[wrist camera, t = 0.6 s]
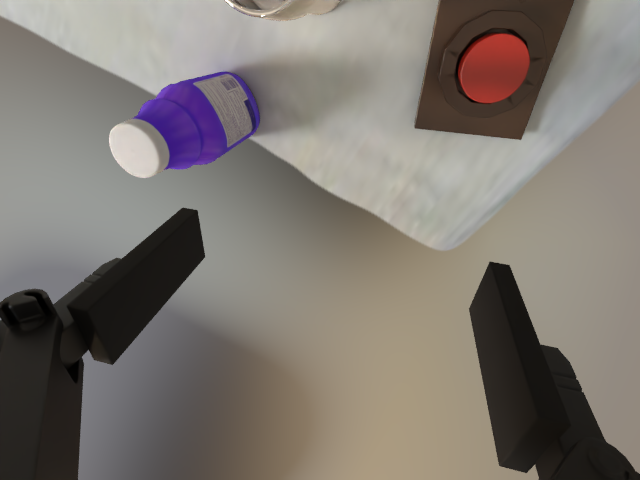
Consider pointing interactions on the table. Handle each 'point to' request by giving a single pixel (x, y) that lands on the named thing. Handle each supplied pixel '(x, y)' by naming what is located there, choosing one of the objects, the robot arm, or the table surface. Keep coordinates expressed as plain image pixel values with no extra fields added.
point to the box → (455, 38)
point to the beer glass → (283, 8)
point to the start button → (493, 67)
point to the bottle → (186, 125)
